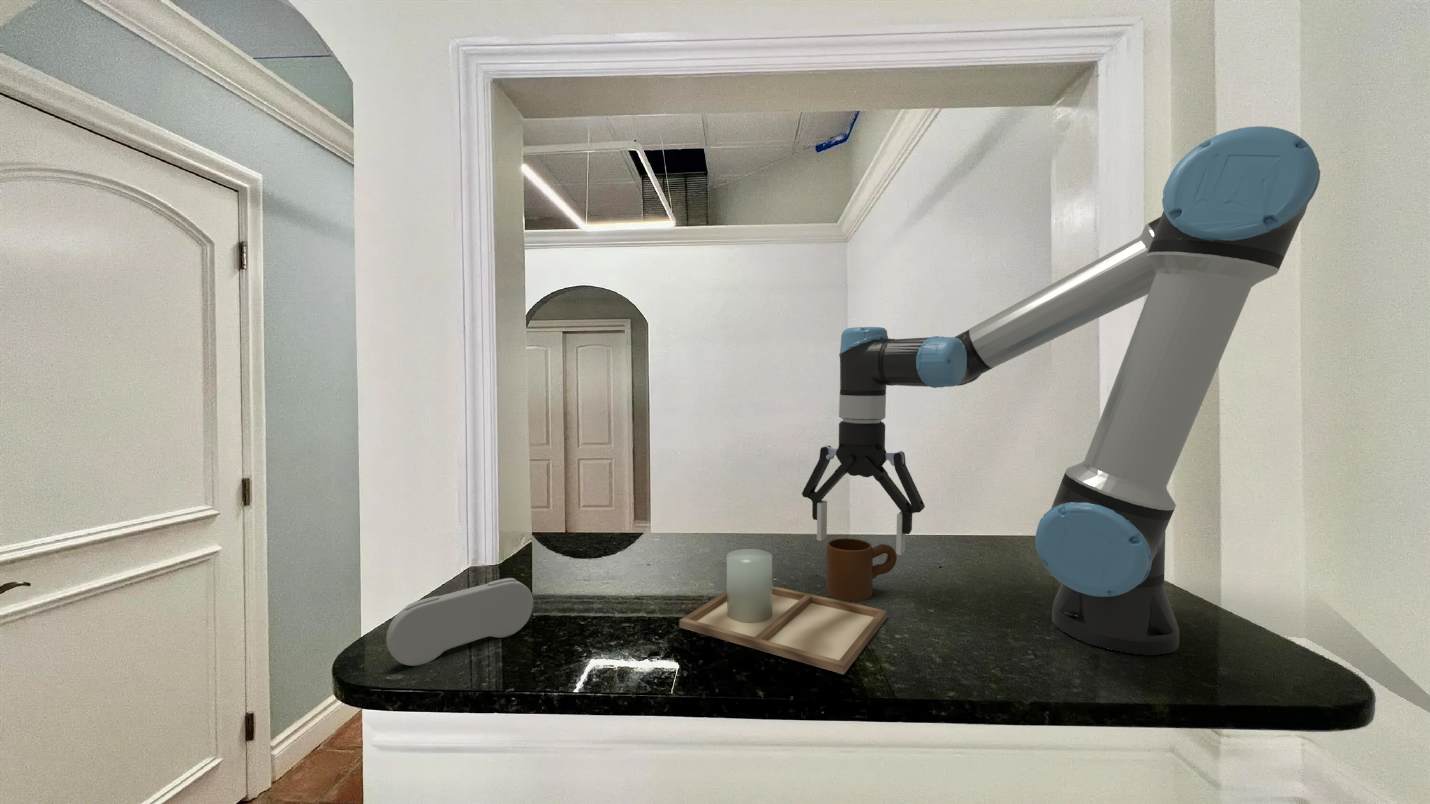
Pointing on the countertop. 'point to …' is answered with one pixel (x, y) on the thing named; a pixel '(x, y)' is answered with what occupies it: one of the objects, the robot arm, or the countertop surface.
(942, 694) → the countertop surface
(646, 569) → the countertop surface
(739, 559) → the pillar candle
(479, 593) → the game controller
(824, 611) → the organizer
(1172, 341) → the robot arm
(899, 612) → the countertop surface
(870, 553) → the mug
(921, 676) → the countertop surface
